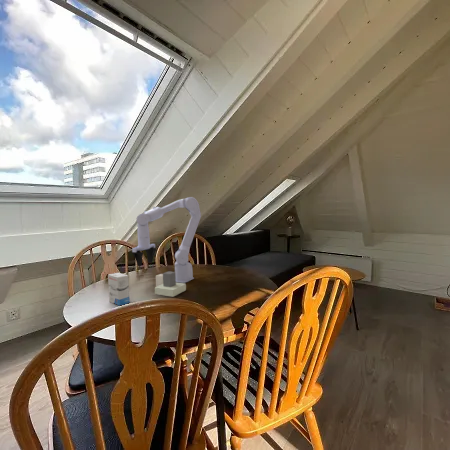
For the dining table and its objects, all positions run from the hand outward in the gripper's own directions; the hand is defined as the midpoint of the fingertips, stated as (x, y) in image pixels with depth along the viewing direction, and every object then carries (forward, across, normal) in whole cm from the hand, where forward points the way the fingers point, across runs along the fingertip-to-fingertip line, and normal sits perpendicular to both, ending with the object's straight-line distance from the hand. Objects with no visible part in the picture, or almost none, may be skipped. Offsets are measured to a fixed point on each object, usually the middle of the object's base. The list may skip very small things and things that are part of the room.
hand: (145, 264), depth 143 cm
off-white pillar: (+10, +1, +11) cm, 15 cm away
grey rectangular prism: (+7, +6, +20) cm, 22 cm away
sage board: (+10, +6, +20) cm, 23 cm away
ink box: (+11, +25, +8) cm, 28 cm away
